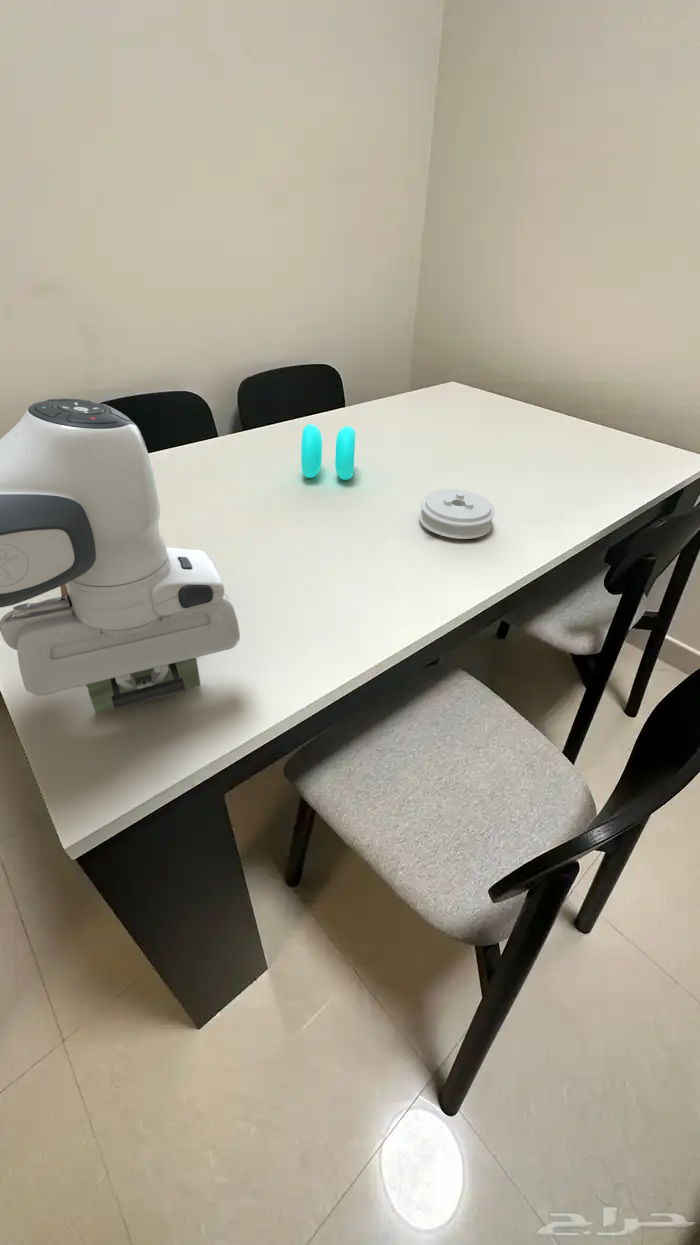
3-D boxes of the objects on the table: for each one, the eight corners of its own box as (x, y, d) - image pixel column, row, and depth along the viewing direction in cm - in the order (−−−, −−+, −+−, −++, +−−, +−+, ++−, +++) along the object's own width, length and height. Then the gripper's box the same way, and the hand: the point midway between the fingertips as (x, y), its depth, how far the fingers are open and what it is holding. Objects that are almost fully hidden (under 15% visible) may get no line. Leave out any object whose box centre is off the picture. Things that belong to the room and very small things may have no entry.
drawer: (211, 714, 63) (203, 661, 59) (101, 746, 59) (83, 692, 55) (175, 618, 76) (167, 568, 72) (83, 639, 72) (67, 588, 67)
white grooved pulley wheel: (471, 505, 108) (476, 480, 105) (504, 539, 99) (510, 513, 96) (408, 512, 105) (411, 486, 102) (435, 547, 96) (439, 520, 92)
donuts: (352, 488, 111) (355, 437, 105) (300, 486, 111) (300, 434, 105) (353, 467, 119) (356, 419, 113) (305, 465, 119) (304, 416, 113)
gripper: (-9, 633, 46) (39, 746, 55) (240, 582, 54) (248, 688, 62) (-8, 590, 51) (36, 701, 59) (221, 548, 58) (232, 652, 67)
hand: (146, 694), depth 61 cm, fingers closed
